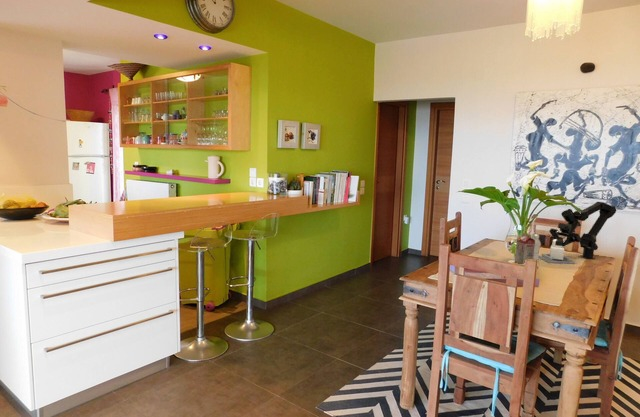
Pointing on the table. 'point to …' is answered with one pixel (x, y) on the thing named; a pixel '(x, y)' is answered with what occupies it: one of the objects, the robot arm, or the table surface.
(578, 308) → the table surface
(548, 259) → the bottle holder
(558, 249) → the medicine bottle
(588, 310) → the table surface
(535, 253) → the plastic bottle
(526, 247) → the juice carton
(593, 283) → the table surface
